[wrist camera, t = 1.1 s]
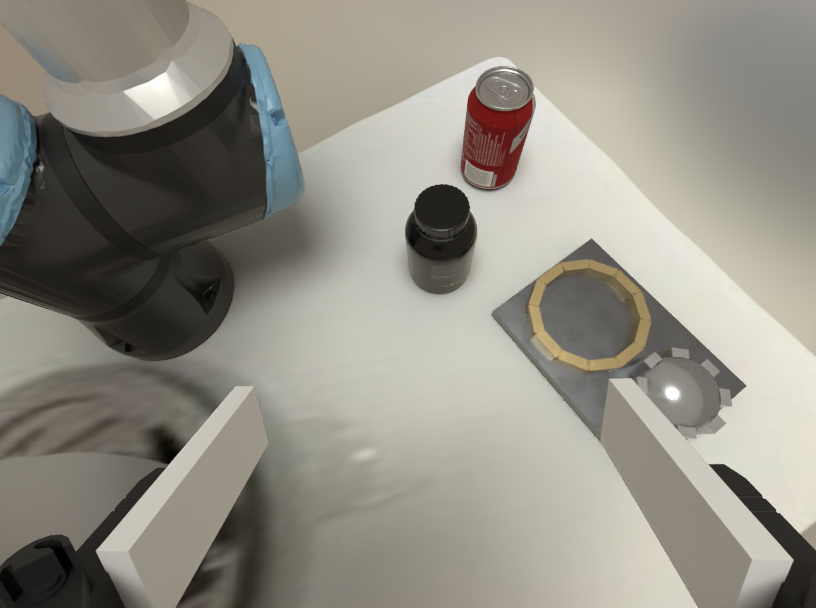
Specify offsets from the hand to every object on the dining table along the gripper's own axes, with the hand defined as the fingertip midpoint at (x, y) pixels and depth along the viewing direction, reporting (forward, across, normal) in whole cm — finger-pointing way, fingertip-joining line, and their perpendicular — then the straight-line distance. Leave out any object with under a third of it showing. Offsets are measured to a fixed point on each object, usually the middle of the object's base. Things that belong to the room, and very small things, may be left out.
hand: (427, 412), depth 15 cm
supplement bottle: (+31, +1, -3) cm, 31 cm away
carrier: (+24, +18, -11) cm, 32 cm away
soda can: (+40, +7, +7) cm, 41 cm away
